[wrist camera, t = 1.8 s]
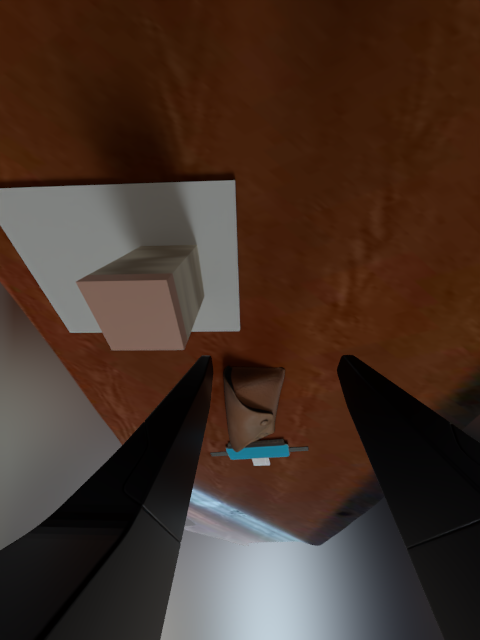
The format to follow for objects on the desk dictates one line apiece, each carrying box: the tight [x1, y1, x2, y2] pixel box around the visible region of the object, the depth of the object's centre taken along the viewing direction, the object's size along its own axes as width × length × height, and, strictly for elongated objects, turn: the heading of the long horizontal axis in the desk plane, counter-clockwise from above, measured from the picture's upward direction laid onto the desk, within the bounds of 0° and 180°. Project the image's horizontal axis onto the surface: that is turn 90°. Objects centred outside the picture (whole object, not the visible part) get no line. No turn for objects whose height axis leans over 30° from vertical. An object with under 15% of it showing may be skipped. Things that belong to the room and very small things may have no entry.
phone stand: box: [211, 439, 308, 466], centre depth 40 cm, size 20×12×2 cm, turn 101°
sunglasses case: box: [223, 366, 285, 452], centre depth 30 cm, size 18×7×7 cm
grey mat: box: [0, 180, 240, 333], centre depth 19 cm, size 20×14×1 cm
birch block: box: [76, 245, 204, 350], centre depth 15 cm, size 5×5×8 cm
